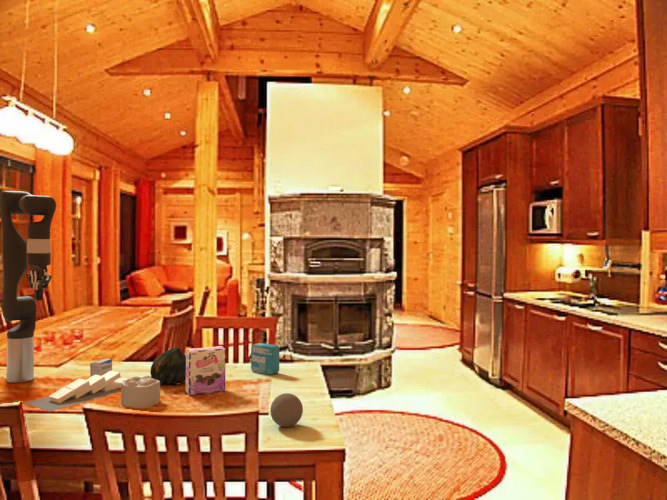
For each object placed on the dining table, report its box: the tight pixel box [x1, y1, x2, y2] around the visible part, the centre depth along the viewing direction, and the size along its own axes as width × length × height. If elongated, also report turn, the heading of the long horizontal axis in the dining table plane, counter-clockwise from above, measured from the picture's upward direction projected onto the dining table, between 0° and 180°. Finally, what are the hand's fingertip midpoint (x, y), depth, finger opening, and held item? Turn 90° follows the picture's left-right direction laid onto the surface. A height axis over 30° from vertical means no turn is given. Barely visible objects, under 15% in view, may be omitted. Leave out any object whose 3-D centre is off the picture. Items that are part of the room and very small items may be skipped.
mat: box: [24, 389, 121, 412], centre depth 188 cm, size 16×27×1 cm, turn 148°
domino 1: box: [48, 378, 90, 403], centre depth 186 cm, size 2×6×12 cm
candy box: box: [184, 345, 227, 396], centre depth 198 cm, size 14×6×16 cm, turn 117°
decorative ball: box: [269, 392, 304, 428], centre depth 163 cm, size 10×10×10 cm
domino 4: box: [101, 377, 128, 391], centre depth 201 cm, size 2×6×12 cm
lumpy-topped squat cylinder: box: [120, 375, 161, 409], centre depth 184 cm, size 10×13×9 cm
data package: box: [250, 342, 280, 376], centre depth 227 cm, size 12×4×12 cm, turn 60°
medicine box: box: [89, 358, 113, 378], centre depth 209 cm, size 8×4×9 cm, turn 168°
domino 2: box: [71, 375, 106, 399], centre depth 191 cm, size 2×6×12 cm
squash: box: [149, 347, 186, 386], centre depth 209 cm, size 14×15×15 cm
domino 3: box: [88, 370, 122, 394], centre depth 197 cm, size 2×6×12 cm
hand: (38, 300), depth 188 cm, fingers closed
